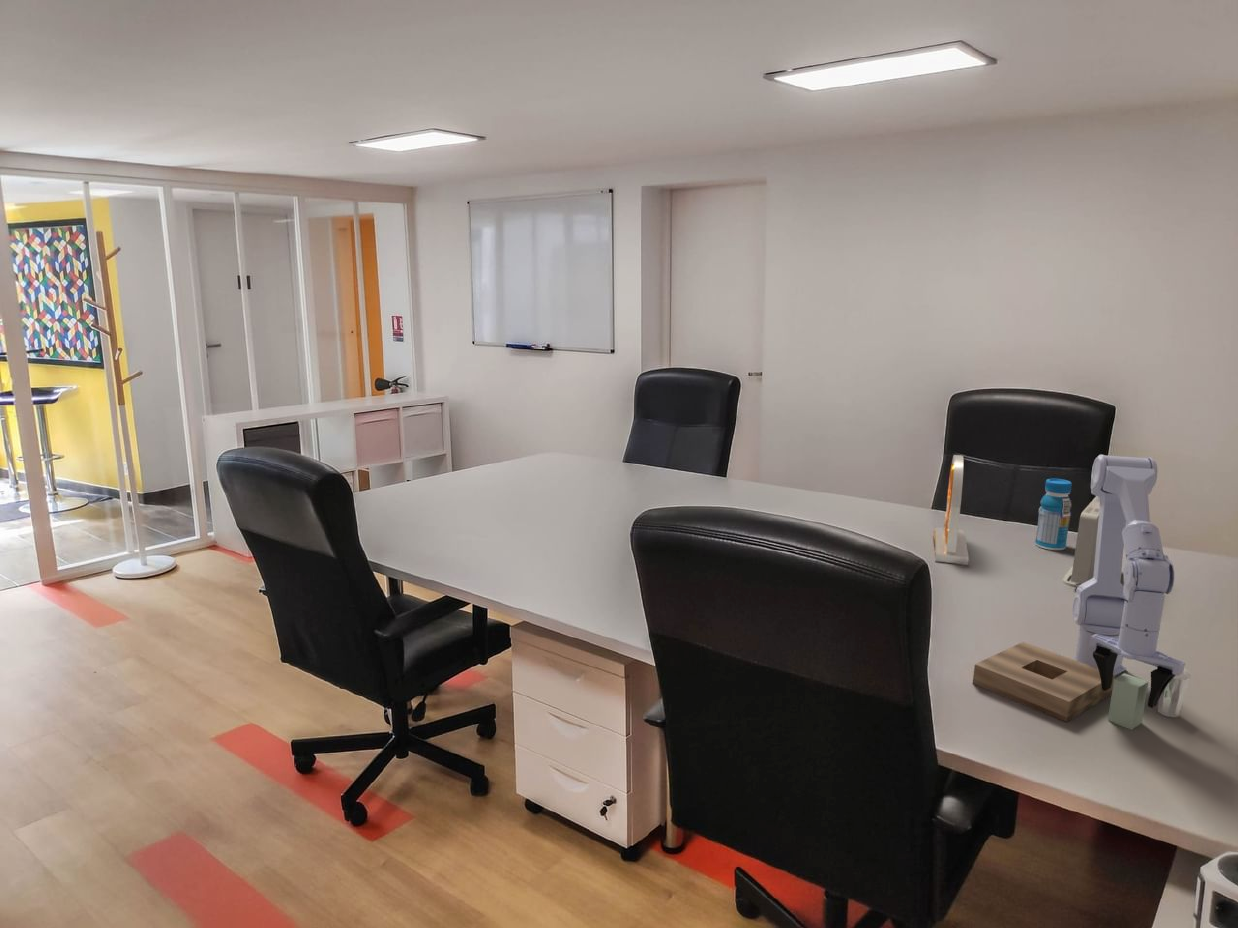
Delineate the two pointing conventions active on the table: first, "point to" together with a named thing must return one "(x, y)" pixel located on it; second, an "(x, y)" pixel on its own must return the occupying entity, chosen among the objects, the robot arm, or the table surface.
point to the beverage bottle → (1054, 515)
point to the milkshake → (1173, 695)
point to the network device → (1085, 546)
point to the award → (952, 521)
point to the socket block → (1042, 680)
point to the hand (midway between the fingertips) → (1128, 697)
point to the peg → (1128, 701)
